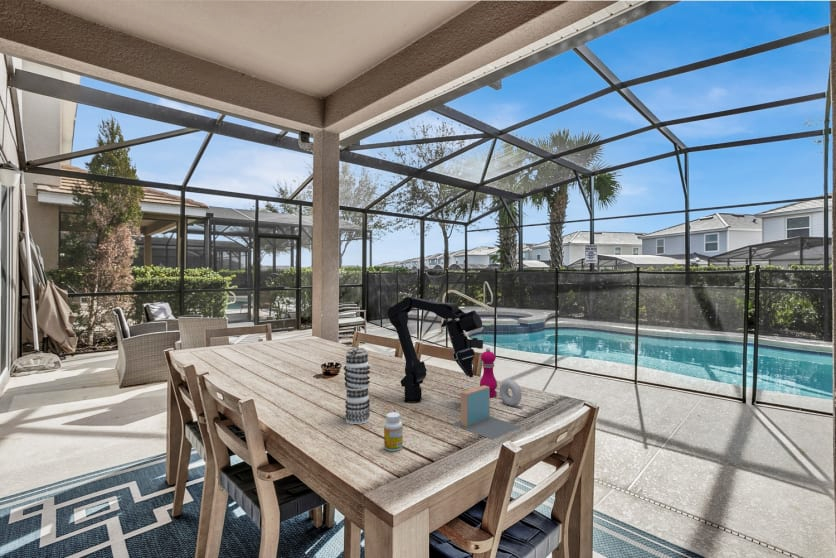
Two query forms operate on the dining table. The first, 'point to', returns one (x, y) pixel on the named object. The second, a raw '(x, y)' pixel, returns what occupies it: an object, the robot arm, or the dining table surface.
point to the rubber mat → (490, 427)
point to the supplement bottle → (393, 432)
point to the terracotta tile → (475, 405)
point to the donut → (515, 391)
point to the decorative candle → (357, 386)
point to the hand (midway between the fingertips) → (470, 376)
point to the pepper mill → (488, 372)
